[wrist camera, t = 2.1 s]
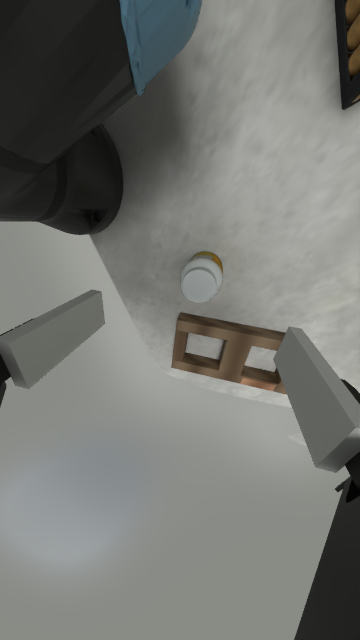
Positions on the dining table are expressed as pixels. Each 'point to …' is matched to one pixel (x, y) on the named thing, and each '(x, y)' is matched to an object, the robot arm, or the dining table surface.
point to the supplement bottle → (202, 277)
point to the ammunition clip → (348, 49)
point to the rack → (227, 351)
